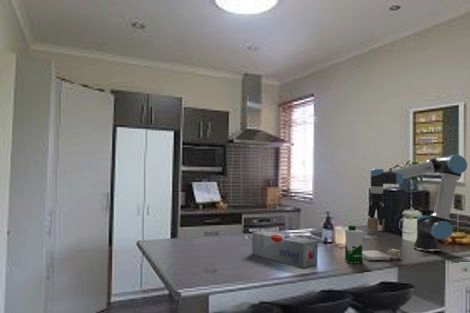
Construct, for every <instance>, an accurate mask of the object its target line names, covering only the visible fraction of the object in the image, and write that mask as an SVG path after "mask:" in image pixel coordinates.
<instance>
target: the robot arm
mask: <svg viewBox="0 0 470 313" xmlns="http://www.w3.org/2000/svg"><path fill="white" fill-rule="evenodd" d="M467 168H468V162H467V160H466V159H465V157H463V156H462V155H459V154H447V155H446V154H443V155H439V156H436V157H433V158H431V159H427V160H425V162H420V163H416V164H412V165H408V166H403V167H400V168H399V167H398V168H396V169H392V170H391V169H390V170H387V171H384V169H382V168H372V169H371V171H370V195H369V196H370V200H371V201H368V211H367V212H368V214H367V217H369V218H376V216H375V215H376V213H377V218H378V225H377V230H382V220H383V219H384V220H385V218H386V212H385V205H386V203H383V202H382V200H383V199H384V185H402V184H403V182H404V179H410V178H413V177H418V176H421V175H426V174H431V175H433V174H440V176H441V180H440V185H439V188H438V192H437V197H436V202H435V205H434V210H433V213H431V214H430V215H417V217H416V238H415V242H414V244H413V248H414V247H417V248H423V249H439V250H440V247H439V242H438V240H446V239H448V238H449V237H451V236H452V234H453V229H454V228H453V226H452V224H451V222H452V219H451V217H450V213H451V208H452V205H453V201H454V200H453V199H454V196H455V191H456V188H457V182H458V180H460V179H461V177H462V174H463V173H464V172H465V171H466V170H467Z"/></svg>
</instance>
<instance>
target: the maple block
mask: <svg viewBox="0 0 470 313" xmlns="http://www.w3.org/2000/svg"><path fill="white" fill-rule="evenodd" d="M386 251H387V252H386V254H387V255H389V256H391V257H399V256H400V255H401V251H400V250H399V249H395V248H389V249H387V250H386ZM400 257H401V256H400Z"/></svg>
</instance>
